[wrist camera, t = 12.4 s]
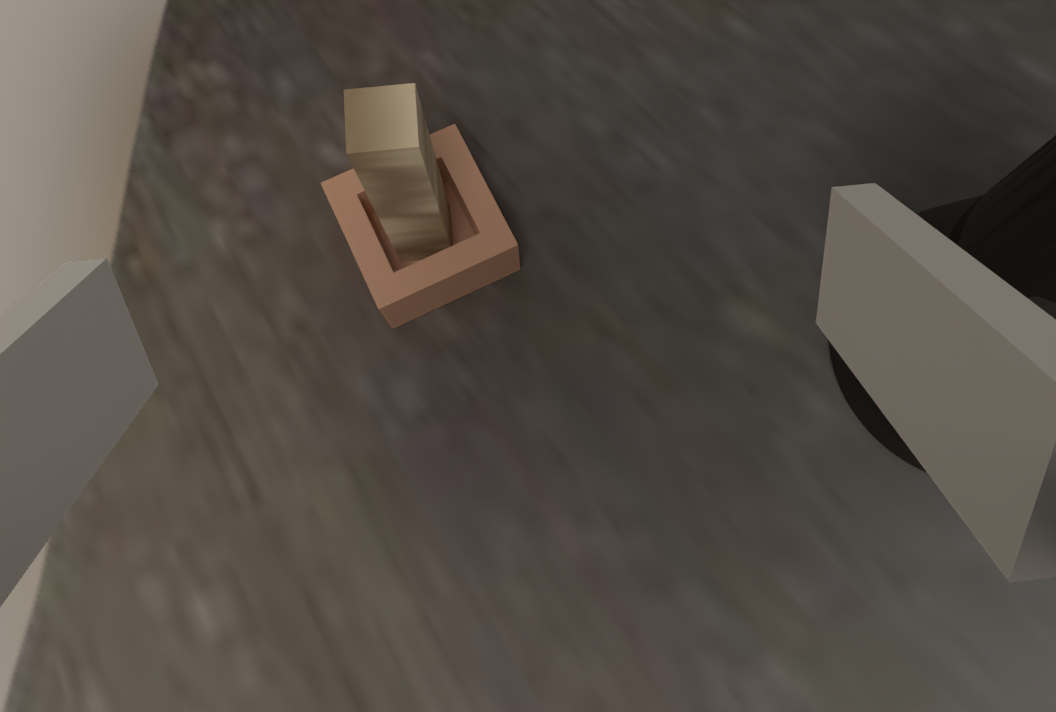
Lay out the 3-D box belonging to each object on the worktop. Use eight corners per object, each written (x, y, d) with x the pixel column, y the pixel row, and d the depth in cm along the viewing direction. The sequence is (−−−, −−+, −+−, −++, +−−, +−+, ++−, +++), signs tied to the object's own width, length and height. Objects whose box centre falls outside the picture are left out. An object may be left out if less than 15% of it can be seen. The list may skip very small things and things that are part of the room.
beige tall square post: (450, 208, 44) (414, 82, 32) (453, 256, 43) (418, 146, 31) (398, 213, 44) (343, 89, 32) (400, 261, 43) (346, 153, 31)
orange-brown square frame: (462, 156, 45) (455, 123, 42) (520, 269, 43) (518, 244, 40) (338, 212, 45) (320, 182, 41) (392, 329, 43) (378, 309, 39)
